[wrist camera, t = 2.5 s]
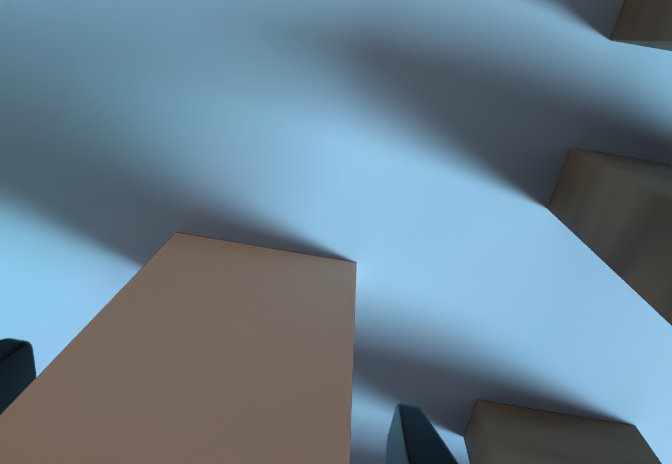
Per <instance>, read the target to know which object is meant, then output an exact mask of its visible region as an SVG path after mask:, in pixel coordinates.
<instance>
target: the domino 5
mask: <svg viewBox="0 0 672 464" xmlns="http://www.w3.org/2000/svg"><path fill="white" fill-rule="evenodd" d="M610 40H611V41H617V42H623V43H629V44H634V45H640V46H646V47H652V48H658V49H663V50H669V51H672V0H625V2H624V4H623V7H622V10H621V12H620V15H619V18H618V21H617V23H616V26H615V29H614V31H613V34H612V37H611V39H610Z"/></svg>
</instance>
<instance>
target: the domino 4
mask: <svg viewBox="0 0 672 464" xmlns="http://www.w3.org/2000/svg"><path fill="white" fill-rule="evenodd" d="M548 210H549V211H550V212H551V213H553V214H554V215H555V216H556V217H557V218H558V219H559V220H560V221H561V222H562V223H563V224H564V225H565V226H566V227H567V228H568V229H570V230H571V231H572V232H573V233H574V234H575V235H576V236H577V237H578V238H579V239H580V240H581V241H582V242H583V243H584V244H586V245H587V246H588V247H589V248H590V249H591V250H592V251H593V252H594V253H595V254H596V255H597V256H598V257H599V258H600V259H601V260H603V261H604V262H605V263H606V264H607V265H608V266H609V267H610V268H611V269H612V270H613V271H614V272H615V273H616V274H617V275H618V276H620V277H621V278H622V279H623V280H624V281H625V282H626V283H627V284H628V285H629V286H630V287H631V288H632V289H633V290H634V291H635V292H637V293H638V294H639V295H640V296H641V297H642V298H643V299H644V300H645V301H646V302H647V303H648V304H649V305H650V306H651V307H652V308H654V309H655V310H656V311H657V312H658V313H659V314H660V315H661V316H662V317H663V318H664V319H665V320H666V321H667V322H668V323H669V324H671V325H672V165H670V164H664V163H658V162H652V161H647V160H641V159H635V158H629V157H623V156H617V155H611V154H606V153H600V152H594V151H588V150H582V149H576V148H570V151H569V153H568V156H567V159H566V161H565V164H564V167H563V170H562V172H561V175H560V178H559V180H558V183H557V186H556V189H555V191H554V194H553V197H552V199H551V202H550V205H549V208H548Z"/></svg>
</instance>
